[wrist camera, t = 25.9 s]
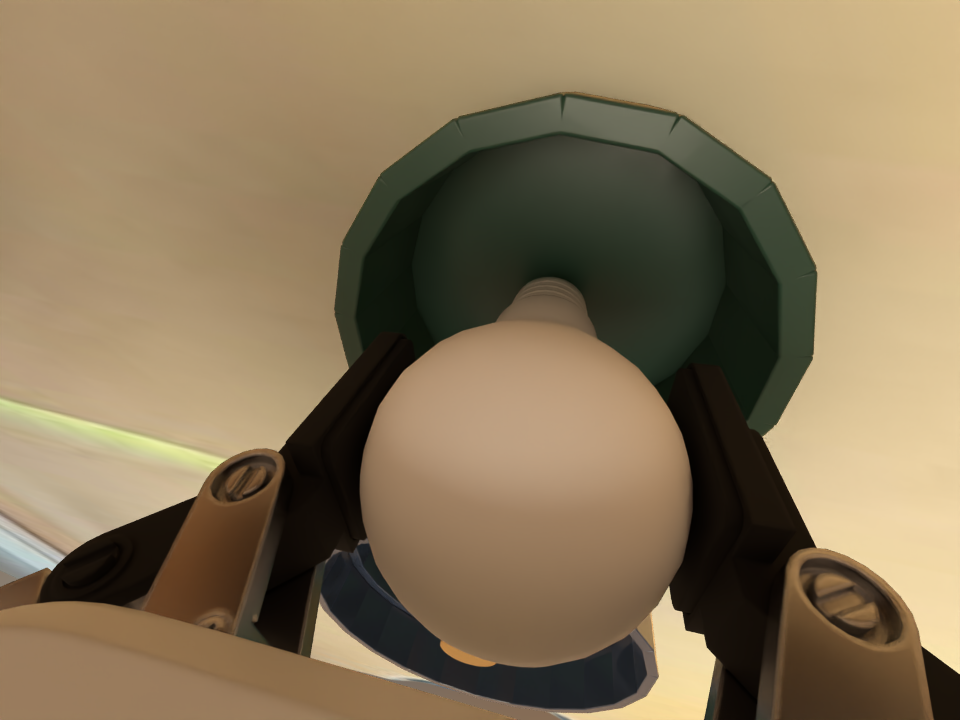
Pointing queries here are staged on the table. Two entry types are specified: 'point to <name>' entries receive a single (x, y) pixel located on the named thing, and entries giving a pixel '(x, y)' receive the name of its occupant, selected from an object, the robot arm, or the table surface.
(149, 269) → the table surface
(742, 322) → the tin
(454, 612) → the lightbulb
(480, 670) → the bowl
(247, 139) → the table surface
